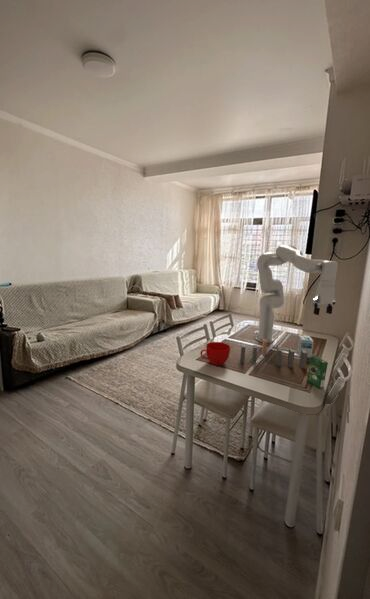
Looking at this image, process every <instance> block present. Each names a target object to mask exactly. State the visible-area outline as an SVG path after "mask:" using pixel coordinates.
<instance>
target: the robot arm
mask: <svg viewBox="0 0 370 599" xmlns="http://www.w3.org/2000/svg"><path fill="white" fill-rule="evenodd" d="M256 263H257V264H256V265H257V272H258V276H259V286H260V291H261V293H263V294H267V295H263V296H262V297H261V298H260V299H259V319H258V320H259V321H258V330H255V331H254V332H253V333H254V335H256V336H255V337H254V338H255V340H256V341H259V342H261V343H263V339H267V341H268V342H267V344H268V343H273V342H274V341H275V338H274V337H273V332H274V331H273V330H274V320H275V313H274V310H275V309H280V308H282V307H283V306H284V304H285V294H284V285H283V283H282V282H281V279H280V280H279V279H278V278H273V272H272V270H271V267H270V266H283V265H284V264H287V263H289V264H290V263H291V264H292V265H293V266H294V267H295V268H296V269H298V270H300V271H302V272H305V273H307V274H317V273H318V274H320V278H319V285H318V286H317V288H316V291H315V295H314V297H313V299H311V301H312V305H313V315H315V316H319V315H320V309H321V308H320V307H321V305H327V306H326V312H325V313H326V314H329V315H332V313H333V308H334V305H335V304H336V302H337V298H336V297H335V294H336V292H335V291H336V290H335V285H336V279H337V272H338V264H339V263H338V261H334V260H325V259H318V258H317V259H316V258H315V259H311V258H308V257H305V256H304V254H303V252H302V251H301V250H298V249H297V247H296V246H294V245H290V244H289V245H287V244H281V245H279V246H278V247H276V249H275V252H264V253H262V254H260V255H259V256H258V259H257V261H256ZM273 309H274V310H273Z"/></svg>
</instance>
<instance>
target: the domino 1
mask: <svg viewBox="0 0 370 599" xmlns="http://www.w3.org/2000/svg"><path fill="white" fill-rule="evenodd" d="M240 346H241V348H240V358H239V360H240V361H239V362H240V363H245V357H246V349H247V348H246V344H245V343H241V345H240Z"/></svg>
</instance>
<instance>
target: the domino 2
mask: <svg viewBox="0 0 370 599" xmlns="http://www.w3.org/2000/svg"><path fill="white" fill-rule="evenodd" d="M257 358H258V345H256V344H253V345H252V354H251V364H255V365H257Z"/></svg>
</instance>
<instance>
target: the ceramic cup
mask: <svg viewBox="0 0 370 599" xmlns="http://www.w3.org/2000/svg"><path fill="white" fill-rule="evenodd" d="M230 351H231V346H230V345H229V344H227V343H224V342H218V341H213V342H212V341H211V342H208V343H206V345H205V349H201V351H200V353H199V354H200V356H201V357H202V358H203V359H204V360H205V359H206V360H208V361H209V363H210V364H211V365H212V366H214V367H215V366H219V367H221V366H223V365H224V364H225V363H226V362H227V361H228V359H229V356H230ZM203 352H205V353H206V356H204V355H203Z"/></svg>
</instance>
